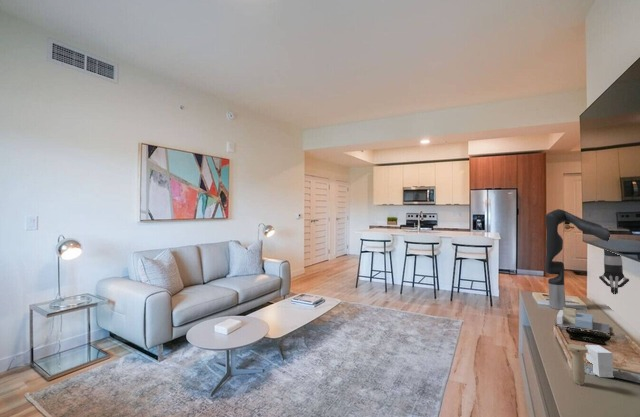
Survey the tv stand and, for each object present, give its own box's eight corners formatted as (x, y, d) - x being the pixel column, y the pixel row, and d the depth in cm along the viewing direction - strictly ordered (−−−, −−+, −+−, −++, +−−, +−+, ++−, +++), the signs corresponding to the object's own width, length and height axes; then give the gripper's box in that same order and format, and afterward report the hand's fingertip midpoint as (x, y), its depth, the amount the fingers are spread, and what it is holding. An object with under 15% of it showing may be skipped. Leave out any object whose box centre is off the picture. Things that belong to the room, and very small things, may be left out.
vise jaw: (577, 319, 190) (577, 312, 190) (593, 321, 184) (593, 314, 185) (575, 326, 178) (574, 319, 178) (592, 329, 173) (591, 322, 173)
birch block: (564, 320, 190) (563, 307, 190) (576, 322, 185) (575, 309, 186) (563, 321, 187) (562, 308, 187) (576, 324, 182) (575, 310, 183)
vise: (558, 318, 196) (557, 309, 196) (609, 327, 180) (608, 317, 180) (555, 325, 185) (554, 316, 185) (609, 335, 168) (608, 325, 168)
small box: (614, 378, 127) (613, 353, 128) (598, 377, 129) (597, 352, 129) (600, 368, 135) (599, 344, 135) (586, 367, 136) (585, 344, 137)
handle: (590, 388, 121) (588, 350, 121) (570, 384, 124) (568, 347, 124) (588, 382, 125) (586, 346, 125) (568, 378, 128) (566, 343, 129)
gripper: (597, 263, 174) (598, 293, 174) (629, 265, 165) (631, 297, 165) (597, 261, 180) (599, 290, 179) (629, 263, 170) (630, 294, 170)
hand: (614, 293), depth 172 cm, fingers closed
